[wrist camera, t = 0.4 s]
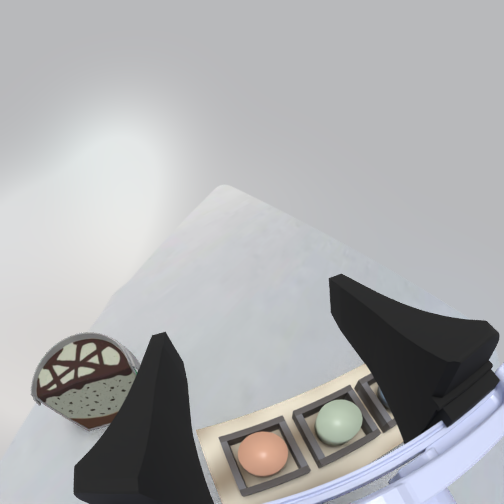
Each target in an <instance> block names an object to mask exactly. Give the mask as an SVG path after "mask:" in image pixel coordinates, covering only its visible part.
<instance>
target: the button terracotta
mask: <svg viewBox="0 0 504 504" xmlns="http://www.w3.org/2000/svg"><path fill="white" fill-rule="evenodd" d="M287 457H288V449H287V445H286V443H285V442H284V440H283V439H282V438H281V437H279V436H278V435H276V434H274V433H271V432H256V433H253V434H251V435H249V436H248V437H246V438H245V439H244V440H243V441H242V442H241V444H240V446H239V449H238V458H239V461H240V463H241V465H242V466H243V468H244V469H245V470H246V471H247V472H248V473H250V474H252V475H254V476H257V477H269V476H273V475H275V474H277V473H278V472H280V471H281V470H282V469H283V467H284V466H285V464H286V461H287Z"/></svg>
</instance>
